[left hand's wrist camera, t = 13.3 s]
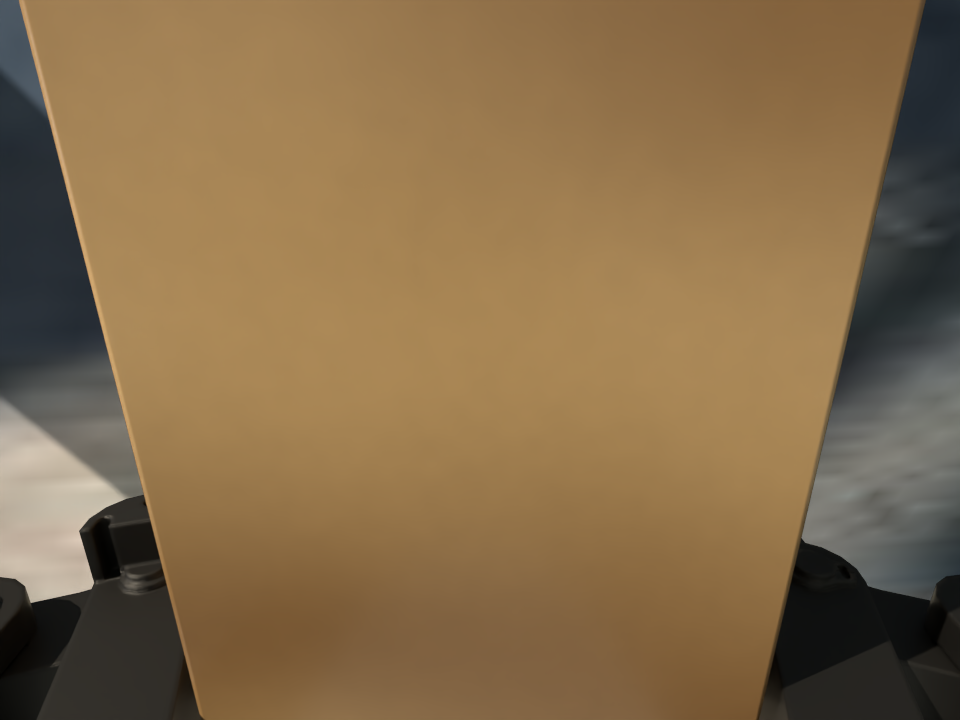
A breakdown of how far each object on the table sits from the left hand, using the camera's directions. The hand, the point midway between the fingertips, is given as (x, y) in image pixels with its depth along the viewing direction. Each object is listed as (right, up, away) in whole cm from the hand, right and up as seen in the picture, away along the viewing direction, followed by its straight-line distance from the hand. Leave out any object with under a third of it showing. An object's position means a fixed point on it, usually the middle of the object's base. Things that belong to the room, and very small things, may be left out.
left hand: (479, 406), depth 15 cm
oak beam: (0, +12, -5) cm, 13 cm away
